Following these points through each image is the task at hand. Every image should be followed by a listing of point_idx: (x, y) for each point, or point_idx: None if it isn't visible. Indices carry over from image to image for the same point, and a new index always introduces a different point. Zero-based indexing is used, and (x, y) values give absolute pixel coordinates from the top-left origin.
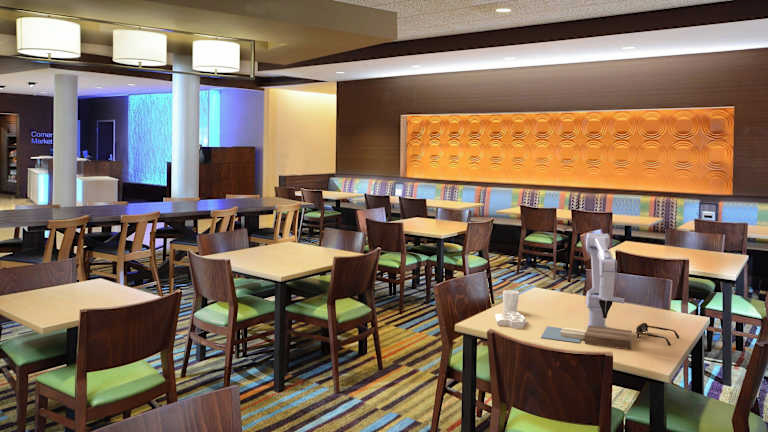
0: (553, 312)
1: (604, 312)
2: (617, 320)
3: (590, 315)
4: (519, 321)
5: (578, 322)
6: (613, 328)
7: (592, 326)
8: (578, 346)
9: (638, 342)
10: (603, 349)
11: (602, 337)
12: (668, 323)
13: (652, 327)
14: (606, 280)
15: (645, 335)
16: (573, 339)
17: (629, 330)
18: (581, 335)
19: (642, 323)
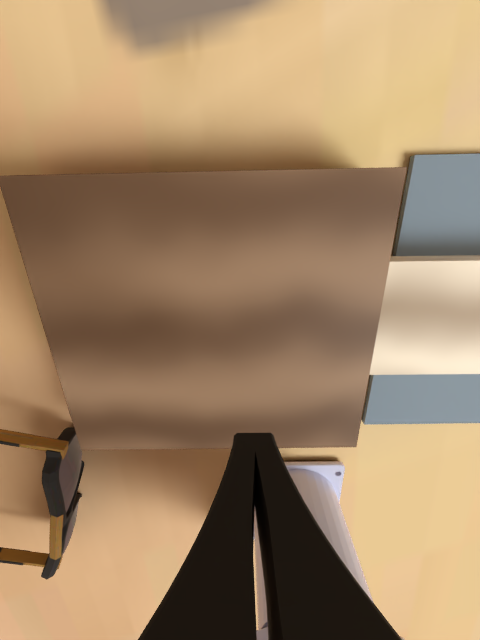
0: (472, 608)
1: (267, 496)
2: None
3: (355, 562)
4: None
5: (375, 538)
6: (195, 448)
7: (329, 435)
8: (430, 53)
9: None
10: (229, 73)
11: (249, 172)
12: (32, 632)
13: (24, 554)
14: None
15: (11, 431)
16: (453, 214)
17: (95, 448)
18: (407, 260)
19: (51, 564)
